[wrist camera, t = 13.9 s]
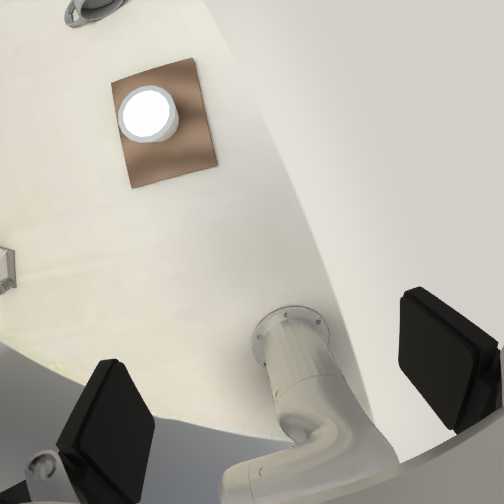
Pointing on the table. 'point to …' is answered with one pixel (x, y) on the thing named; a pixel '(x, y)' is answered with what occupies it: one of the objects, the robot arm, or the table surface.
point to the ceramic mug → (90, 10)
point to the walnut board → (186, 136)
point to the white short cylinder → (148, 115)
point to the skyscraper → (7, 270)
